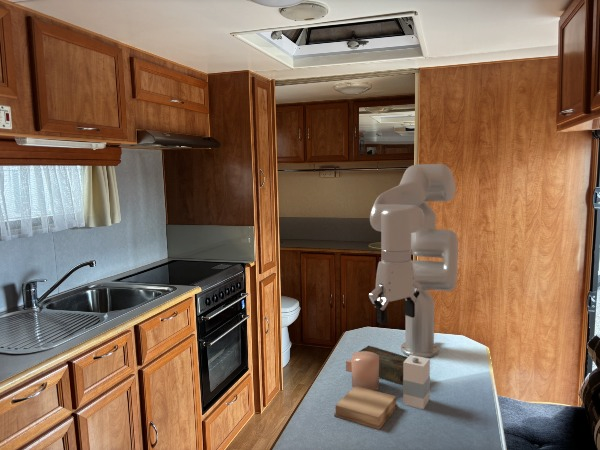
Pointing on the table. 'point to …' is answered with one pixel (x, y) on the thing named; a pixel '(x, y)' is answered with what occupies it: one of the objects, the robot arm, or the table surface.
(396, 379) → the beverage carton
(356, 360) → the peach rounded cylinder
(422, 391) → the slim carton
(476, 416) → the table surface
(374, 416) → the plinth
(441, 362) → the table surface
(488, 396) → the table surface
